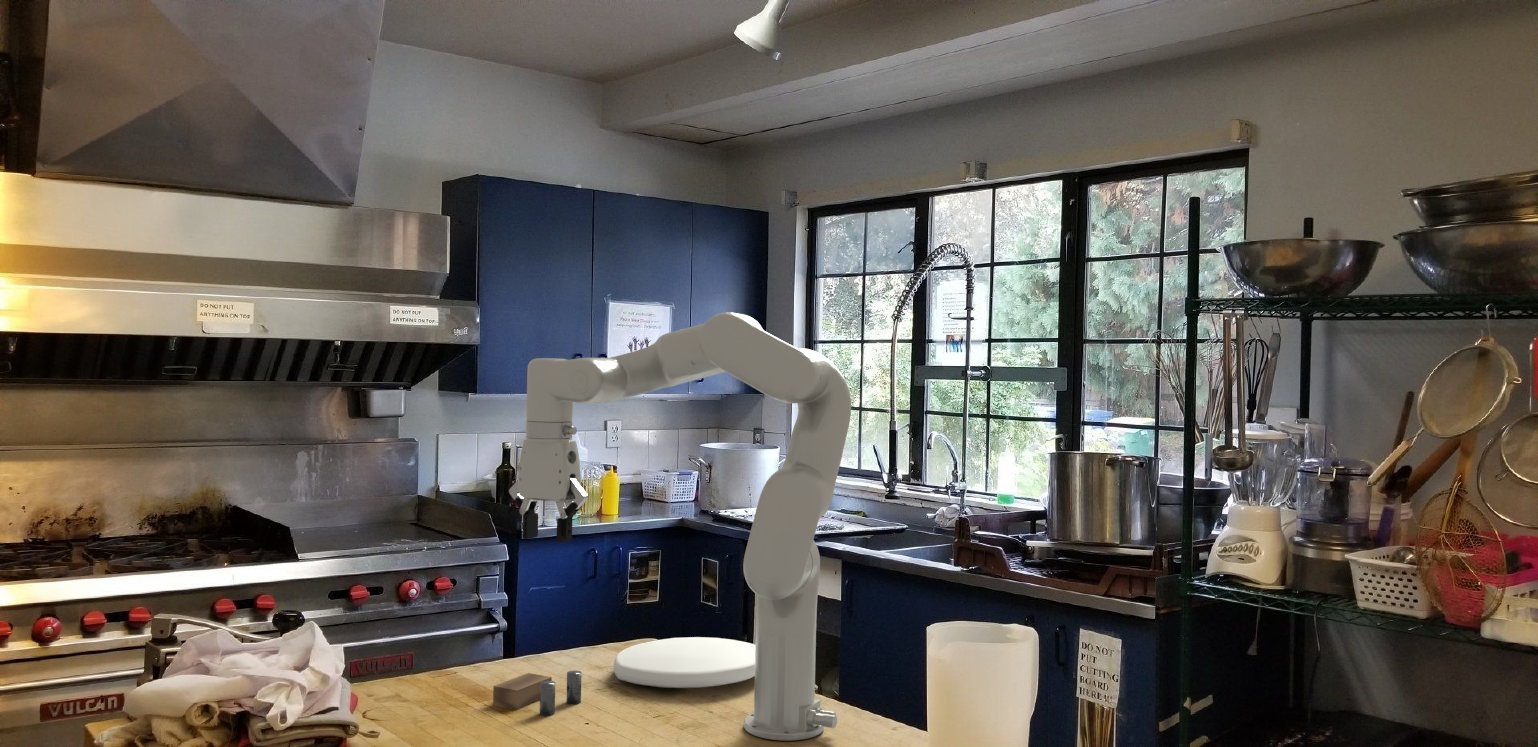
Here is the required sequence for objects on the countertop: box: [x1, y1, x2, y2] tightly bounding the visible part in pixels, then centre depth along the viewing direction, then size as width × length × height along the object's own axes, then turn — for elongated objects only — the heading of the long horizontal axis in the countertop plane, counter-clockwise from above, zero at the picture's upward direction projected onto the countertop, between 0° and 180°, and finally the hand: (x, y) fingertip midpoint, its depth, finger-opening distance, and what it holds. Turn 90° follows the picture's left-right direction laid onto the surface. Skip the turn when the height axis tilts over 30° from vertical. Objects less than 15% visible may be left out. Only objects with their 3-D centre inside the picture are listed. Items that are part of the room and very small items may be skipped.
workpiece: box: [492, 672, 553, 711], centre depth 185 cm, size 5×9×4 cm, turn 153°
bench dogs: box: [539, 670, 582, 717], centre depth 181 cm, size 2×9×5 cm, turn 153°
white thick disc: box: [613, 636, 755, 689], centre depth 201 cm, size 28×6×27 cm
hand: (547, 538), depth 183 cm, fingers open, 6 cm apart
